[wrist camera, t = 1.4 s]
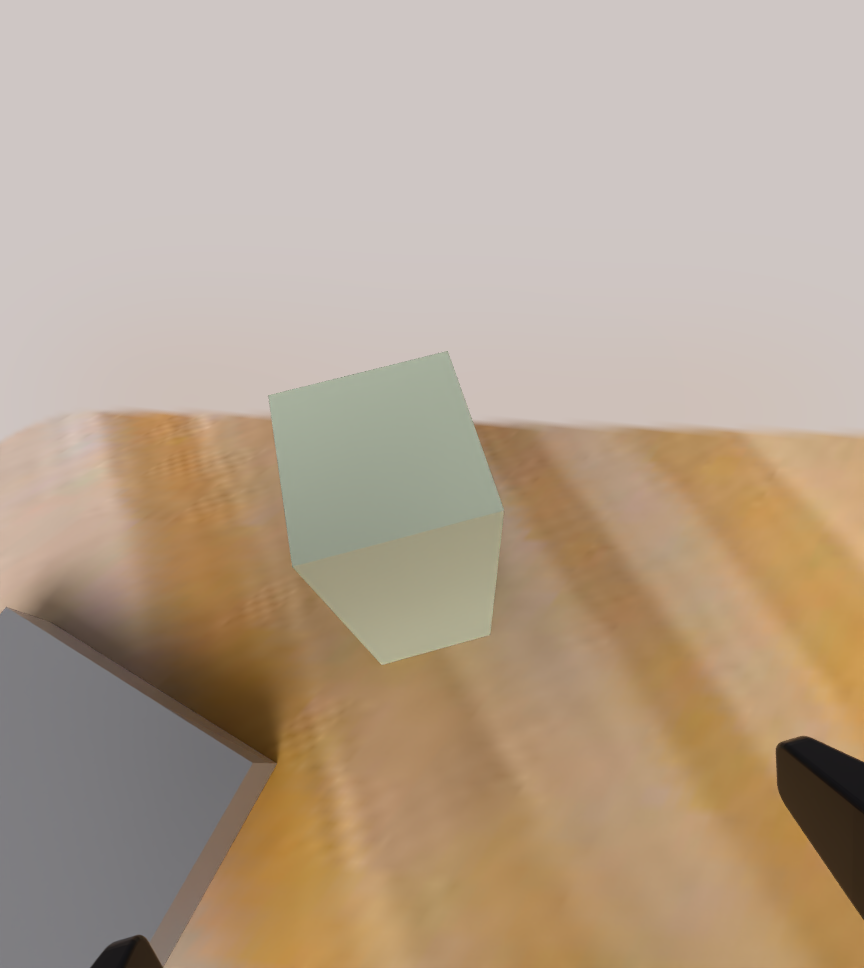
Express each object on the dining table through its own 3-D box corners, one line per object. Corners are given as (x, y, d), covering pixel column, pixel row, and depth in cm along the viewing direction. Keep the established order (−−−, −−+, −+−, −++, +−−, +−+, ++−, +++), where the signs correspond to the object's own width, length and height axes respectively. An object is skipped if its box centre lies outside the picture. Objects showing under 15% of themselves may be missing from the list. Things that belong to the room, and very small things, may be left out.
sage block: (490, 634, 22) (504, 510, 11) (381, 664, 22) (292, 566, 11) (459, 535, 24) (447, 351, 13) (360, 561, 24) (268, 395, 13)
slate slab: (277, 763, 20) (252, 762, 18) (43, 1181, 16) (-28, 1249, 13) (50, 621, 23) (6, 606, 21) (-200, 934, 19) (-289, 956, 17)
